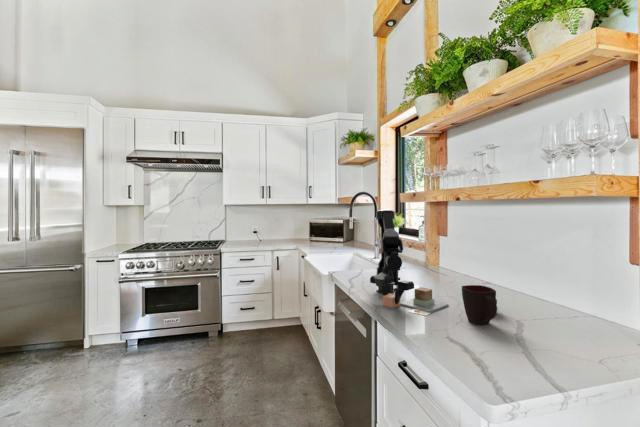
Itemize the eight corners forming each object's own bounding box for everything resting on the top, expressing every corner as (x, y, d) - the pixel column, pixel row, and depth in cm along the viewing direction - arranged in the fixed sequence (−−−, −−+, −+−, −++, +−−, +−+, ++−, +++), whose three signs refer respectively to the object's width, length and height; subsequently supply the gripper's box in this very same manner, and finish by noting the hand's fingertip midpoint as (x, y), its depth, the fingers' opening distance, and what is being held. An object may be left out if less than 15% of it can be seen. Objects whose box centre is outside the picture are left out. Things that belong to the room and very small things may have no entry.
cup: (483, 317, 118) (483, 284, 118) (508, 331, 105) (508, 294, 104) (457, 318, 118) (457, 285, 117) (479, 332, 104) (479, 295, 104)
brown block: (414, 298, 133) (414, 289, 133) (421, 296, 136) (421, 287, 136) (425, 301, 129) (425, 291, 129) (432, 299, 132) (432, 289, 132)
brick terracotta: (382, 305, 134) (382, 295, 134) (390, 302, 137) (390, 293, 137) (392, 307, 130) (392, 298, 130) (399, 305, 133) (399, 295, 133)
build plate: (399, 304, 134) (399, 298, 134) (418, 298, 143) (418, 292, 143) (429, 313, 123) (429, 306, 123) (448, 305, 132) (448, 299, 132)
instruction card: (408, 312, 124) (408, 311, 124) (414, 309, 128) (414, 308, 128) (426, 316, 120) (426, 314, 120) (431, 312, 124) (431, 311, 124)
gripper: (361, 264, 135) (361, 301, 135) (397, 271, 121) (397, 312, 121) (378, 261, 142) (378, 296, 143) (414, 267, 128) (414, 306, 128)
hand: (391, 302), depth 133 cm, fingers closed on brick terracotta, 5 cm apart
